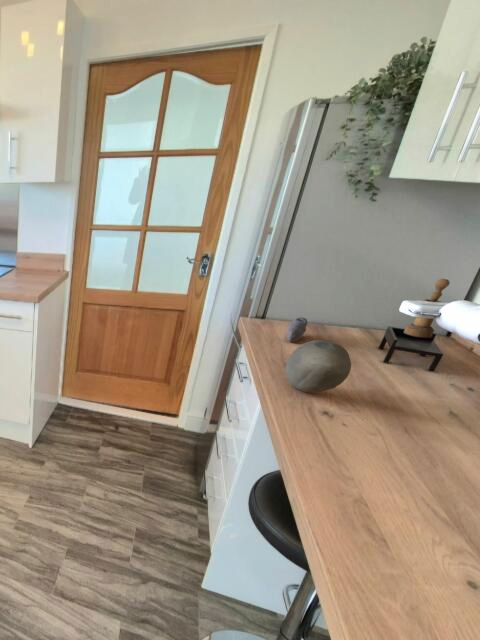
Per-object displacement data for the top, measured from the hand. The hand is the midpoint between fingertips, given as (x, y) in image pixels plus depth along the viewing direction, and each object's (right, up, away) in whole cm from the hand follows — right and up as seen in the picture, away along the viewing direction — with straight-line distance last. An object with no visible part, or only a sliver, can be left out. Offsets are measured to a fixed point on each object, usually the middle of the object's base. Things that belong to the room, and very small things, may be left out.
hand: (430, 303), depth 135 cm
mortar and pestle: (0, -9, +4) cm, 10 cm away
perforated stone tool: (-25, -9, +24) cm, 36 cm away
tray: (0, -17, +8) cm, 19 cm away
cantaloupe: (-49, -28, -13) cm, 58 cm away
